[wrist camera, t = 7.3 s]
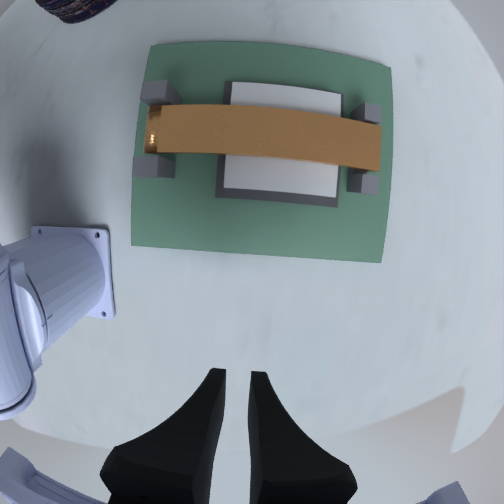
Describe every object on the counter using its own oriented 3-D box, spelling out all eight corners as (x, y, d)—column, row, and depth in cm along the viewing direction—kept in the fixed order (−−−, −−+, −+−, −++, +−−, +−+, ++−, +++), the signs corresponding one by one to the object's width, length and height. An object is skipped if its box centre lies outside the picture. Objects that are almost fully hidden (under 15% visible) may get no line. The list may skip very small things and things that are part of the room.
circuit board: (137, 242, 21) (107, 257, 16) (155, 51, 17) (133, 24, 12) (374, 259, 21) (404, 278, 16) (384, 72, 17) (413, 50, 13)
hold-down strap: (150, 155, 17) (139, 152, 15) (154, 112, 16) (145, 105, 14) (369, 172, 17) (381, 171, 15) (371, 130, 16) (382, 125, 15)
